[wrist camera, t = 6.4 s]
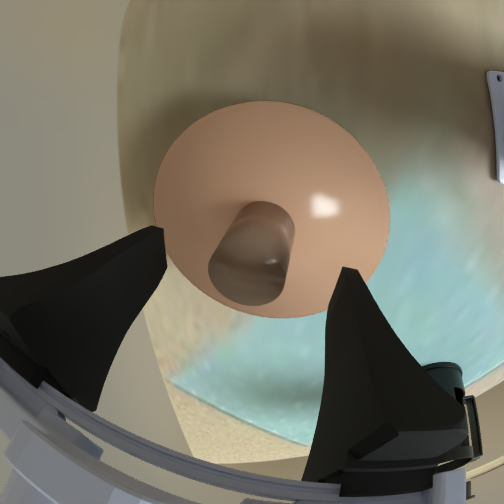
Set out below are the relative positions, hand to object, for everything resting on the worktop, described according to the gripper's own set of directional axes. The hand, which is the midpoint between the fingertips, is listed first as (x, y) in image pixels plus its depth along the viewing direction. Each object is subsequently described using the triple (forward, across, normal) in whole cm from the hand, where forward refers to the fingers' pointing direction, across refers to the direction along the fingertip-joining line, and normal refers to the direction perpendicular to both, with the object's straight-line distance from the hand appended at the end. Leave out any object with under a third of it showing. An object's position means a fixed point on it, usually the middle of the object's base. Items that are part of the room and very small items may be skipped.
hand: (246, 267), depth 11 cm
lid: (+5, 0, +1) cm, 5 cm away
